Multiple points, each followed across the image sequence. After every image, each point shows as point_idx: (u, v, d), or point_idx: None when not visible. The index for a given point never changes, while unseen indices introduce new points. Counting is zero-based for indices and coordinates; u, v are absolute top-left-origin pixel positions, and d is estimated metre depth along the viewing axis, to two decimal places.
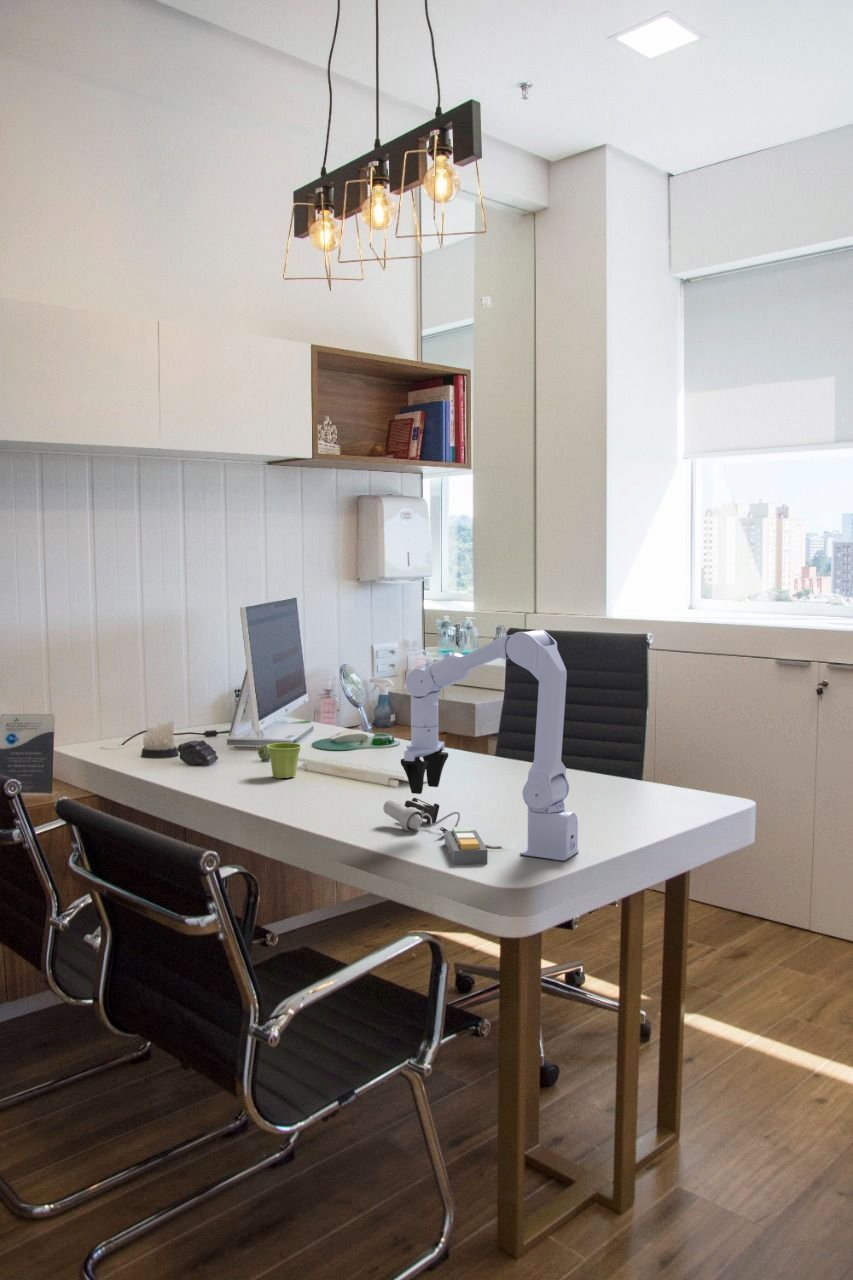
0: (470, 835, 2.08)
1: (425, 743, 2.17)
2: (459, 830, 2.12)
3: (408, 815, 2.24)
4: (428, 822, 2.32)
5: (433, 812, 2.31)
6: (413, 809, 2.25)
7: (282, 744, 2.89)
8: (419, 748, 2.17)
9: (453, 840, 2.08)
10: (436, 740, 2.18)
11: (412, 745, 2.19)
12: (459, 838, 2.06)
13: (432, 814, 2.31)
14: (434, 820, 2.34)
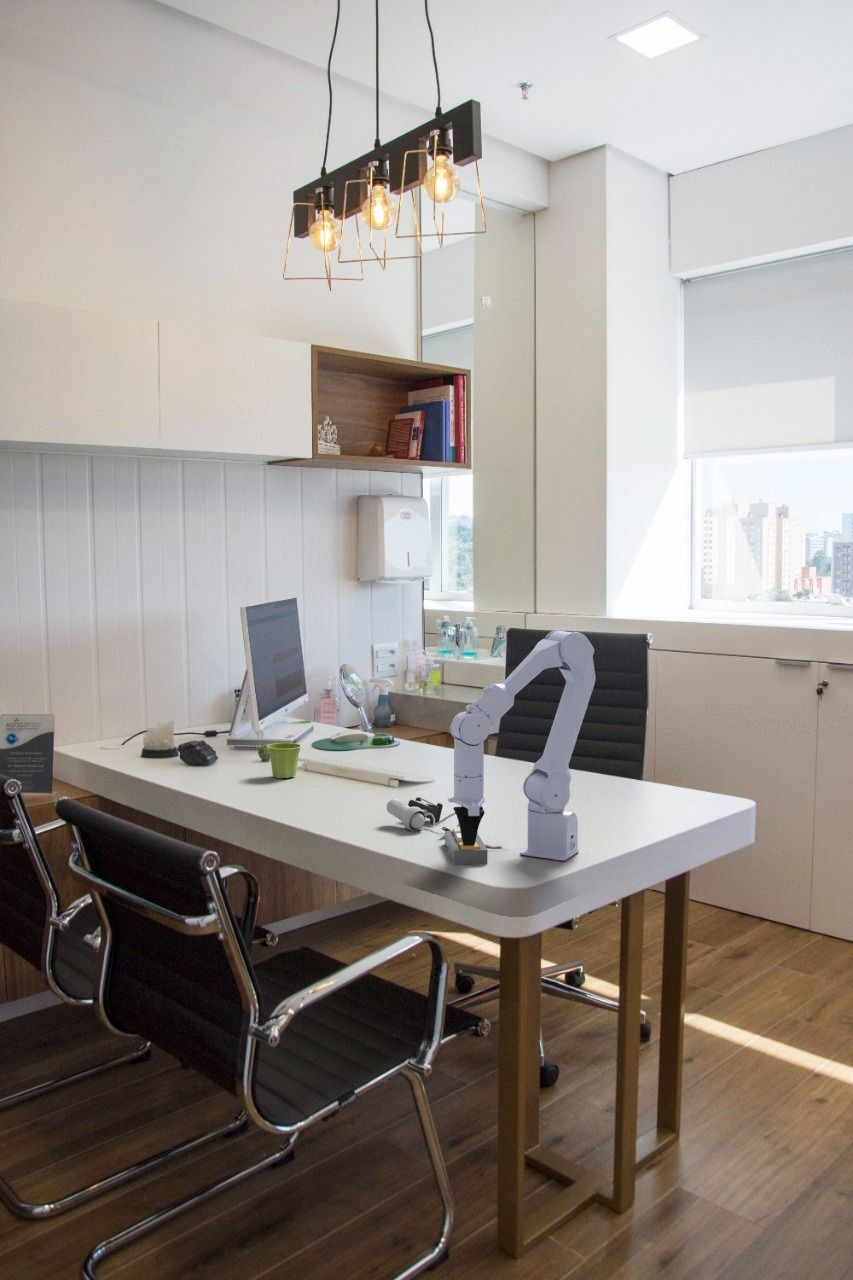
0: None
1: (477, 794, 2.00)
2: (459, 830, 2.12)
3: (411, 814, 2.25)
4: (431, 821, 2.33)
5: (436, 811, 2.32)
6: (416, 808, 2.26)
7: (282, 744, 2.89)
8: (472, 800, 1.99)
9: (453, 840, 2.08)
10: None
11: (461, 798, 2.00)
12: (459, 838, 2.06)
13: (435, 813, 2.32)
14: (437, 819, 2.34)
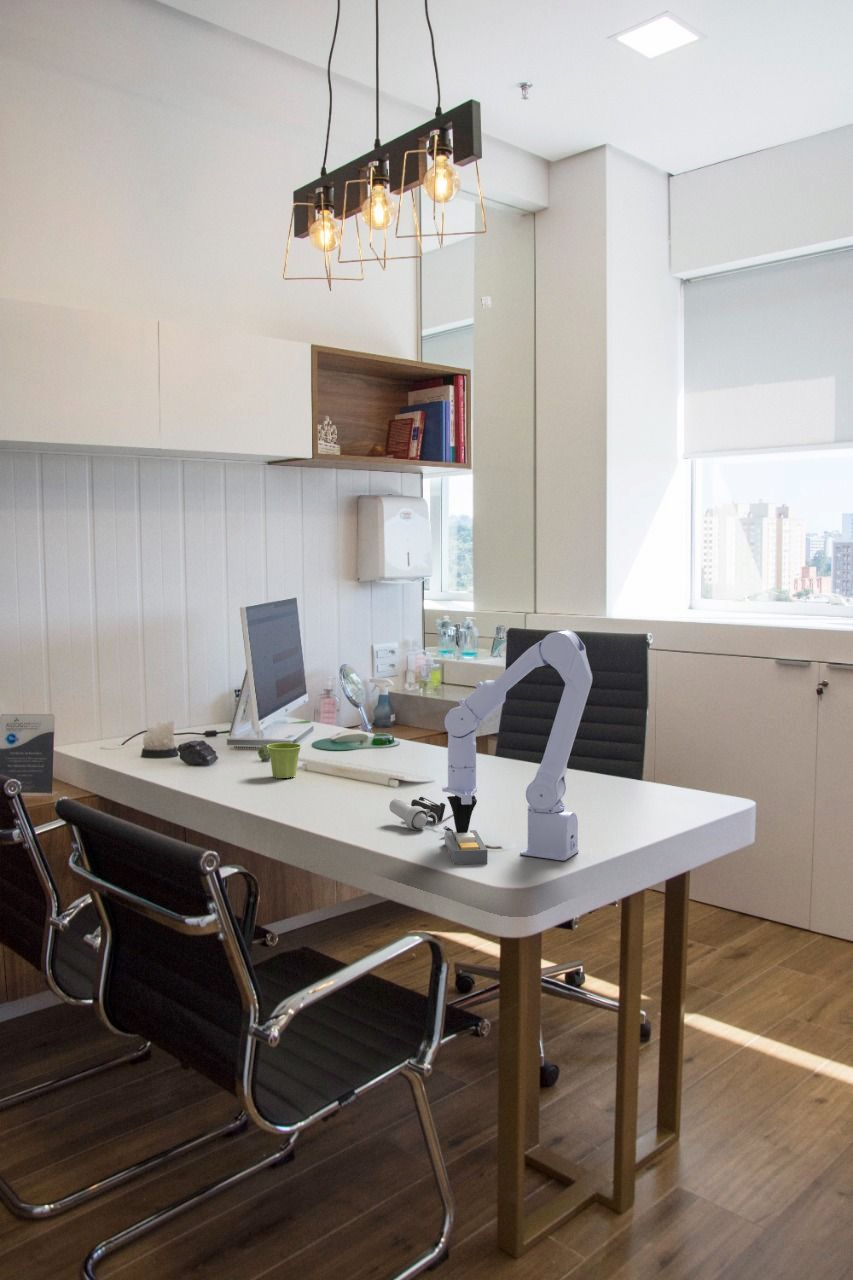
0: (470, 835, 2.08)
1: (470, 784, 2.10)
2: None
3: (413, 814, 2.25)
4: (434, 821, 2.33)
5: (439, 811, 2.32)
6: (418, 808, 2.26)
7: (282, 744, 2.89)
8: (465, 790, 2.09)
9: (453, 840, 2.08)
10: None
11: (454, 787, 2.10)
12: (459, 838, 2.06)
13: (438, 813, 2.32)
14: (440, 819, 2.34)
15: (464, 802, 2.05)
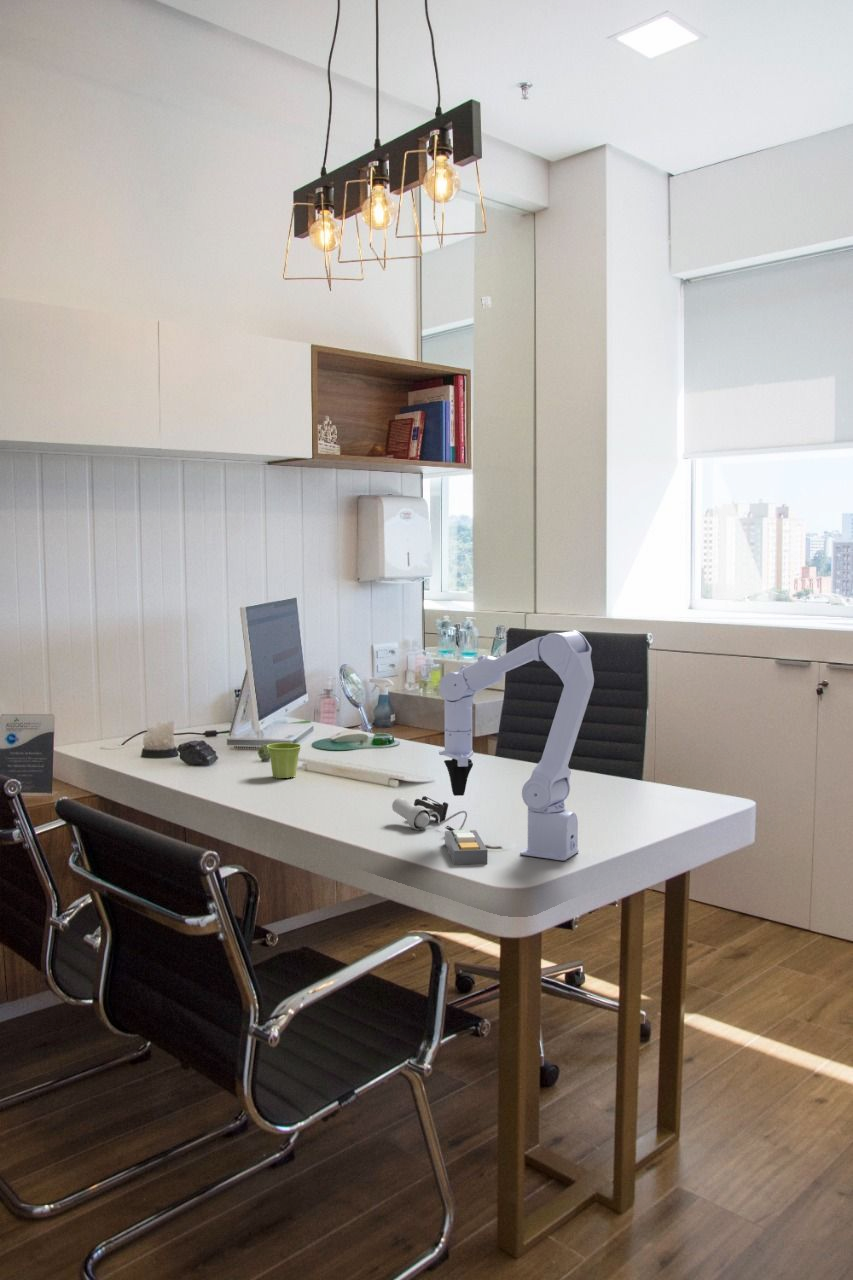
0: (470, 835, 2.08)
1: (466, 747, 2.15)
2: None
3: (415, 813, 2.26)
4: (437, 821, 2.33)
5: (442, 811, 2.33)
6: (420, 807, 2.27)
7: (282, 744, 2.89)
8: (461, 753, 2.14)
9: (453, 840, 2.08)
10: None
11: (451, 751, 2.15)
12: (459, 838, 2.06)
13: (441, 813, 2.33)
14: (443, 819, 2.35)
15: (460, 764, 2.10)
